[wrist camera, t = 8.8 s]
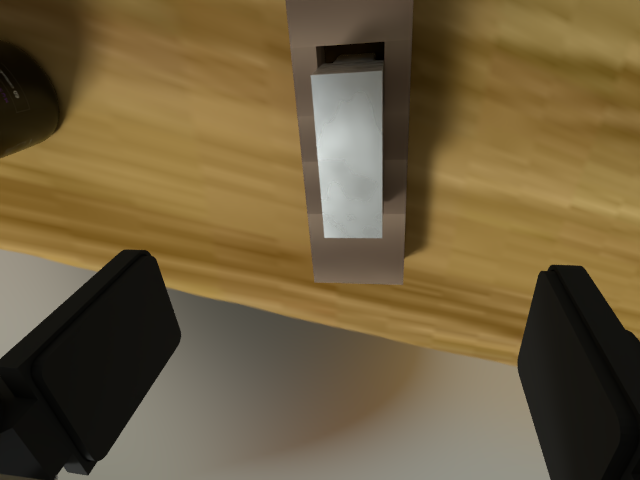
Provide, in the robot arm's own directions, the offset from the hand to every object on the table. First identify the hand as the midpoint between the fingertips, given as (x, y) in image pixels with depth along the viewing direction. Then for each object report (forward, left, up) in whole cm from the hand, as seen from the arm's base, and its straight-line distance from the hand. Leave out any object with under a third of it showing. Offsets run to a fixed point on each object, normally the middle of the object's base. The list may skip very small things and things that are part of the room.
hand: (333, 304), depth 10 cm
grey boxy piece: (0, 0, -17) cm, 17 cm away
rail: (+1, 0, -17) cm, 17 cm away
